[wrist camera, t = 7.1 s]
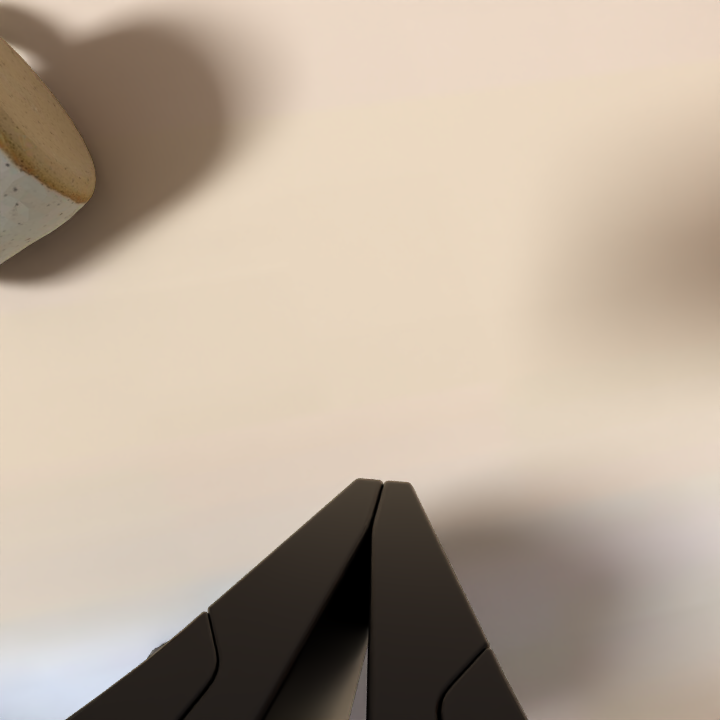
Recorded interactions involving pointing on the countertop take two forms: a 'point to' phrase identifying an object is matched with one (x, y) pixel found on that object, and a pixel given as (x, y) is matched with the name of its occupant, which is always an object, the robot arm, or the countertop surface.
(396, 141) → the countertop surface
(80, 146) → the ceramic mug
